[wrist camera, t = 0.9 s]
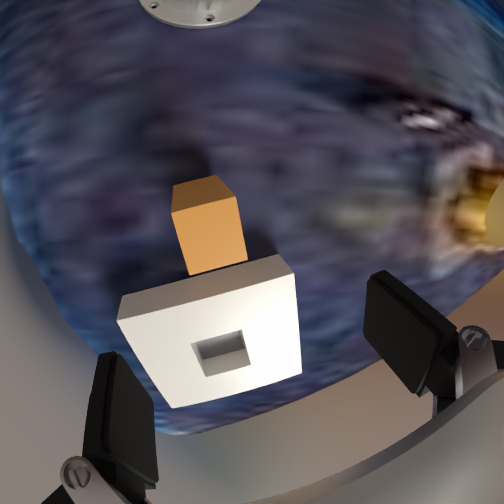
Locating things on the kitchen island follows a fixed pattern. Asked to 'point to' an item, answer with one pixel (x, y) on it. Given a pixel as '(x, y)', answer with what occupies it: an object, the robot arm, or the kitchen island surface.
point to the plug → (207, 224)
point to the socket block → (216, 331)
